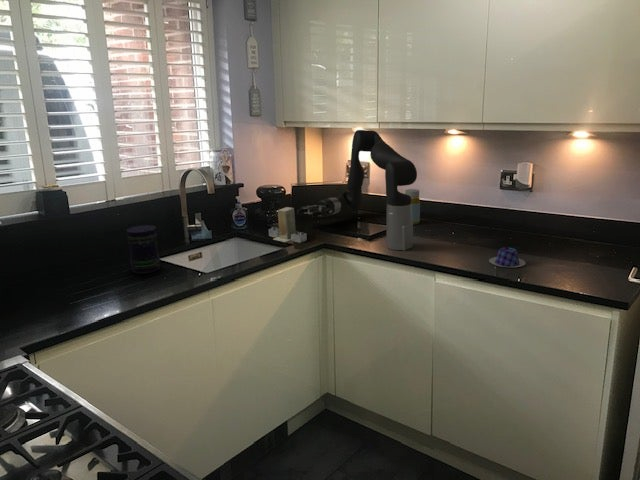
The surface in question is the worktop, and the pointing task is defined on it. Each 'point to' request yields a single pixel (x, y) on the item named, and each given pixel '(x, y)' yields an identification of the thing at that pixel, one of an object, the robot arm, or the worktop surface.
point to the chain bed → (295, 235)
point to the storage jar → (143, 248)
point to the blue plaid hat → (507, 258)
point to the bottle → (414, 205)
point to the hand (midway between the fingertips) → (305, 213)
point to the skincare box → (286, 222)
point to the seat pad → (282, 239)
